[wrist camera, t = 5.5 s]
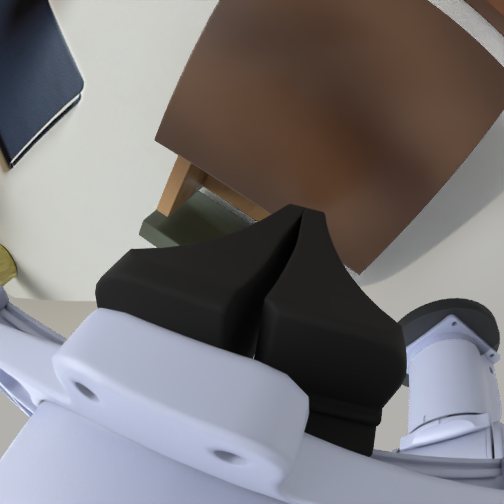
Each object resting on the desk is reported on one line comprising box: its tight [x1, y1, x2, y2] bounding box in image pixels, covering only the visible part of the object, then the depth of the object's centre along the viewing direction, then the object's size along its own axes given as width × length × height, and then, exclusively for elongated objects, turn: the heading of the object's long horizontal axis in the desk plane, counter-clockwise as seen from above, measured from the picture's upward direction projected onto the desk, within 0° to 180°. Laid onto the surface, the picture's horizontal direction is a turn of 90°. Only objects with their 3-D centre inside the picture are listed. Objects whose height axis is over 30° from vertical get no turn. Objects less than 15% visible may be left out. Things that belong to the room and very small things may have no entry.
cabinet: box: [155, 0, 504, 275], centre depth 13 cm, size 11×11×7 cm
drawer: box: [139, 155, 271, 248], centre depth 19 cm, size 14×10×6 cm
